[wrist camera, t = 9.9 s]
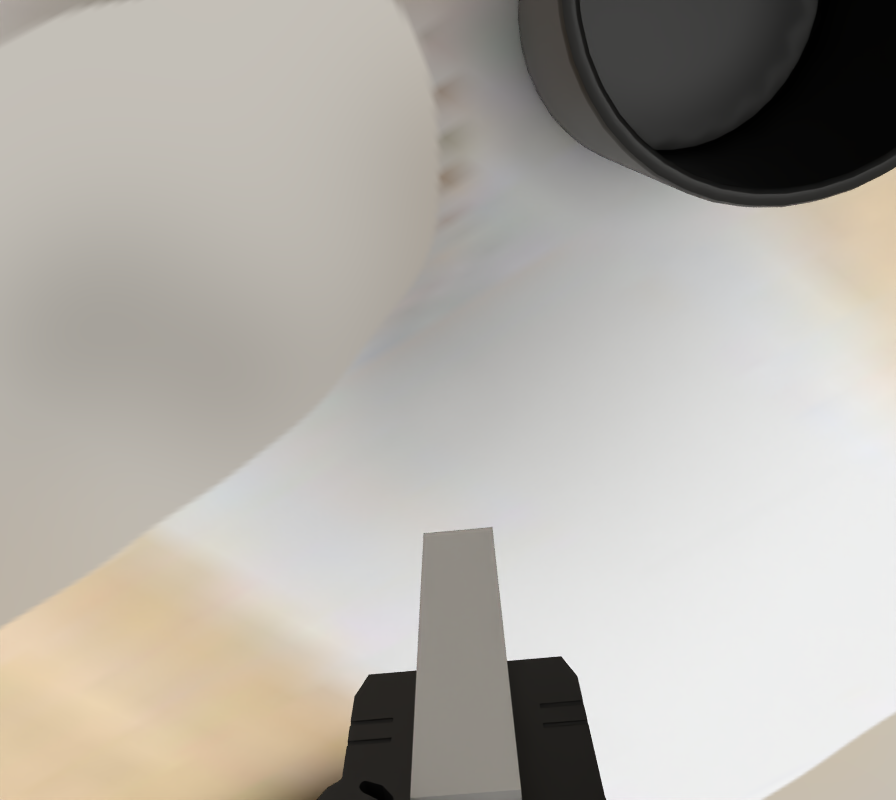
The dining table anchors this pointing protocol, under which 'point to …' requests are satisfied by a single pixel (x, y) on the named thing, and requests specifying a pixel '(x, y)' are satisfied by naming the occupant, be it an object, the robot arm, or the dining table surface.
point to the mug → (723, 91)
